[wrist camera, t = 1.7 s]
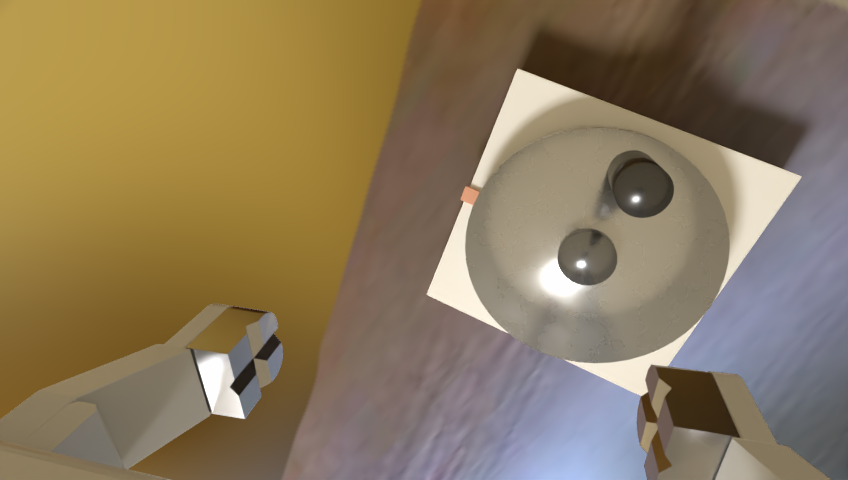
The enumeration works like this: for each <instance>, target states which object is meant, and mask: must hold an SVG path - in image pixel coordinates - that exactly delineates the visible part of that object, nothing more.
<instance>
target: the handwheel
mask: <svg viewBox="0 0 848 480" xmlns="http://www.w3.org/2000/svg"><path fill="white" fill-rule="evenodd" d="M729 250H730V241H729V229H728V224H727V220H726V216H725V212H724V210H723V207H722V205H721V202H720V200H719V198H718V196H717V194H716V192H715V191H714V189H713V187H712V186H711V184H710V183H709V181H708V180H707V179H706V178H705V176H704V175H703V174H702V173H701V172H700V170H699V169H698V168H697V167H696V166H695V165H694V164H692V163H691V162H690V161H689V160H688V159H687V158H685V157H684V156H683V155H682V154H680V153H679V152H677V151H676V150H674V149H672V148H671V147H669V146H668V145H666V144H665V143H663V142H661V141H659V140H657V139H655V138H653V137H651V136H649V135H646V134H643V133H640V132H637V131H634V130H630V129H626V128H620V127H614V126H598V125H592V126H580V127H573V128H568V129H564V130H559V131H556V132H553V133H550V134H548V135H545V136H542V137H540V138H538V139H536V140H534V141H532V142H530V143H528V144H527V145H525V146H524V147H522V148H521V149H519V150H518V151H516V152H515V153H513V154H512V155H511V156H510V157H509V158H508V159H507V160H505V161H504V162H503V163H502V164H501V165H500V167H499V168H498V169H497V170H496V171H495V172H494V173H493V174H492V176H491V177H490V178H489V179H488V180H487V182H486V183H485V185H484V186H483V188H482V189H481V191H480V192H479V195H478V197H477V199H476V201H475V203H474V205H473V207H472V210H471V213H470V216H469V219H468V224H467V229H466V238H465V254H466V263H467V268H468V272H469V276H470V279H471V282H472V285H473V287H474V290H475V292H476V294H477V296H478V297H479V299H480V301H481V303H482V304H483V306H484V307H485V309H486V310H487V312H488V313H489V314H490V315H491V316H492V318H493V319H494V320H495V321H496V322H497V323H498V324H499V325H500V326H501V327H502V328H503V329H504V330H506V331H507V332H508V333H509V334H510V335H512V336H513V337H515V338H516V339H517V340H519V341H520V342H522V343H524V344H525V345H527V346H529V347H531V348H533V349H535V350H537V351H540V352H542V353H544V354H547V355H550V356H553V357H557V358H560V359H563V360H569V361H575V362H583V363H612V362H618V361H625V360H630V359H633V358H637V357H641V356H644V355H647V354H649V353H652V352H654V351H657V350H659V349H661V348H663V347H665V346H666V345H668V344H670V343H672V342H674V341H675V340H676V339H678V338H679V337H681V336H682V335H683V334H685V333H686V332H687V331H688V330H690V329H691V328H692V327H693V326H694V325H695V324H696V323H697V322H698V321H699V320H700V319H701V318H702V316H703V315H704V314H705V313H706V311H707V310H708V309H709V308H710V306H711V304H712V303H713V301H714V300H715V298H716V296H717V295H718V293H719V290H720V288H721V285H722V283H723V281H724V278H725V274H726V270H727V266H728V261H729Z"/></svg>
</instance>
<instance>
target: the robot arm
mask: <svg viewBox="0 0 848 480" xmlns="http://www.w3.org/2000/svg"><path fill="white" fill-rule="evenodd" d="M277 328H278V324H277V320H276V316H275V315H274V314H273V313H271V312H267V311H261V310H254V309H249V308H243V307H236V306H228V305H222V304H212V305H208V306H207V307H206V308H205V309H204V310H203V311H202V312H200V313H199V314H198V315H197V316H196V317H195V318H194V319H193V320H191V321H190V322H189V323H188V324H187V325H186V326H184V328H182V329H181V330H180V331H179V332H178V333H177V334H175V335H174V336H173V337H172V338H171V339H170V340H169V341H167V342H166V343H165V344H164V345H162V344H156V345H154V346H151V347H149V348H146V349H144V350H141V351H139V352H136V353H133V354H131V355H128V356H126V357H123V358H121V359H118V360H115V361H113V362H110V363H108V364H105V365H103V366H100V367H98V368H95V369H93V370H90V371H87V372H85V373H82V374H80V375H77V376H75V377H72V378H70V379H67V380H64V381H62V382H59V383H57V384H54V385H52V386H49V387H47V388H44V389H41V390H39V391H37V392H36V393H35V394H33V395H32V396H31V397H29V398H28V399H27V400H25V401H24V402H23V403H21V404H20V405H19V406H18V407H16V408H15V409H13V410H12V411H11V412H9V413H8V414H7V415H6V416H4V417H3V418H2V419H0V480H171V479H166V478H162V477H157V476H153V475H149V474H144V473H141V472H136V471H132V470H128V469H129V468H130V467H132V466H133V465H135V464H136V463H137V462H139V461H141V460H142V459H144V458H145V457H147V456H148V455H150V454H151V453H153V452H155V451H156V450H158V449H159V448H161V447H162V446H164V445H165V444H167V443H168V442H170V441H171V440H173V439H175V438H176V437H178V436H179V435H181V434H182V433H184V432H185V431H187V430H188V429H190V428H191V427H193V426H194V425H196V424H197V423H199V422H201V421H202V420H204V419H205V418H207V417H208V416H210V413H212V414H218V415H224V416H230V417H237V418H243V419H245V418H246V416H247V415H248V413H249V412H250V411H251V409H252V408H253V407H254V405H255V404H256V403H257V402H258V400H259V399H260V397H261V390H260V388H261V387H263V386H265V385H267V384H269V383H271V382H272V381H273V379H274V378H275V377H276V375H277V374H278V371H279V369H280V366H281V363H282V356H283V355H282V354H283V349H282V344H281V341H280V340H279V339H278V338H277V337H276V336H275V335H274V333H275V331H276V330H277ZM645 381H646V385H647V389H648V392H647V393H646V394H644V395H643V396H641V398H640V402H639V407H638V414H637V430H638V438H639V443H640V446H641V447H642V448H643V449H644V450H645V451H646V452H647V458H646V461H645V465H644V467H645V471H646V476H647V480H831V479H829V478H828V477H827V476H825V475H824V474H823V473H822V472H820V471H819V470H818V469H816V468H815V467H814V466H812V465H811V464H810V463H809V462H807V461H806V460H805V459H803V458H802V457H801V456H799V455H798V454H797V453H796V452H794V451H793V450H792V449H790V448H789V447H788V446H783V445H778V444H777V442H776V440H775V438H774V437H773V435H772V433H771V431H770V429H769V427H768V425H767V423H766V422H765V420H764V418H763V416H762V414H761V412H760V410H759V409H758V407H757V405H756V403H755V401H754V399H753V397H752V395H751V394H750V392H749V390H748V388H747V386H746V384H745V382H744V381H743V379H742V378H741V377H740V376H739V375H737V374H728V373H720V372H711V371H708V372H705V371H698V370H690V369H682V368H675V367H667V366H660V365H652V364H651V366H650V367H649V369H648V372H647V375H646V379H645Z"/></svg>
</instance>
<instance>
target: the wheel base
mask: <svg viewBox="0 0 848 480" xmlns="http://www.w3.org/2000/svg"><path fill="white" fill-rule="evenodd" d="M592 125H598V126H614V127H620V128H626V129H630V130H634V131H637V132H640V133H643V134H646V135H649V136H651V137H653V138H655V139H657V140H659V141H661V142H663V143H665V144H666V145H668V146H669V147H671V148H672V149H674V150H676V151H677V152H679V153H680V154H682V155H683V156H684V157H685V158H687V159H688V160H689V161H690V162H691V163H692V164H694V165H695V166H696V167H697V168H698V169H699V170H700V172H701V173H702V174H703V175H704V176H705V178H706V179H707V180H708V181H709V183H710V184H711V186H712V187H713V189H714V191H715V192H716V194H717V196H718V198H719V200H720V202H721V205H722V207H723V210H724V212H725V216H726V220H727V224H728V229H729V241H730V250H729V261H728V266H727V270H726V274H725V278H724V281H723V283H722V285H721V288H720V290H719V293H720V292H721V290H722V289H723V287H724V286H725V285H726V283H727V282H728V280H729V279H730V277H731V276H732V275H733V273H734V272H735V270H736V269H737V268H738V266H739V265H740V263H741V262H742V260H743V259H744V258H745V256H746V255H747V253H748V252H749V251H750V249H751V248H752V246H753V245H754V244H755V242H756V241H757V239H758V238H759V236H760V235H761V234H762V232H763V231H764V229H765V228H766V227H767V225H768V224H769V222H770V221H771V220H772V218H773V217H774V215H775V214H776V212H777V211H778V210H779V208H780V207H781V205H782V204H783V203H784V201H785V200H786V198H787V197H788V196H789V194H790V193H791V191H792V190H793V188H794V187H795V186H796V184H797V183H798V181H799V180H800V179H801V177H802V176H799V175H797V174H794V173H792V172H789V171H787V170H785V169H782V168H779V167H777V166H774V165H771V164H769V163H766V162H764V161H761V160H758V159H756V158H753V157H750V156H748V155H745V154H742V153H740V152H737V151H735V150H732V149H729V148H727V147H724V146H721V145H719V144H716V143H713V142H711V141H708V140H706V139H703V138H700V137H698V136H695V135H692V134H690V133H687V132H684V131H682V130H679V129H677V128H674V127H671V126H669V125H666V124H663V123H661V122H658V121H655V120H653V119H650V118H648V117H645V116H642V115H640V114H637V113H634V112H632V111H629V110H626V109H624V108H621V107H619V106H616V105H613V104H611V103H608V102H605V101H603V100H600V99H597V98H595V97H592V96H590V95H587V94H584V93H582V92H579V91H576V90H574V89H571V88H568V87H566V86H563V85H561V84H558V83H555V82H553V81H550V80H547V79H545V78H542V77H539V76H537V75H534V74H532V73H529V72H526V71H524V70H521V69H517V71H516V73H515V76H514V78H513V81H512V83H511V86H510V88H509V91H508V93H507V96H506V98H505V101H504V103H503V106H502V108H501V111H500V113H499V116H498V118H497V121H496V123H495V126H494V128H493V131H492V133H491V136H490V138H489V141H488V143H487V146H486V148H485V151H484V153H483V156H482V158H481V161H480V163H479V166H478V168H477V171H476V173H475V176H474V178H473V181H472V183H471V186H470V187H469V186H467V185H466V187H465V189H464V192H463V194H462V197H461V199H460V200H462V201H464V203H463V205H462V208H461V210H460V213H459V215H458V218H457V220H456V223H455V225H454V228H453V230H452V233H451V235H450V238H449V240H448V243H447V245H446V248H445V250H444V253H443V255H442V258H441V260H440V263H439V265H438V268H437V270H436V273H435V275H434V278H433V280H432V283H431V285H430V288H429V290H428V293H427V295H428V296H430V297H432V298H435V299H437V300H439V301H441V302H443V303H445V304H447V305H449V306H452V307H454V308H456V309H458V310H460V311H462V312H464V313H466V314H468V315H471V316H473V317H475V318H477V319H479V320H481V321H483V322H485V323H487V324H490V325H492V326H494V327H496V328H498V329H500V330H502V331H504V332H507V331H506V330H504V329H503V328H502V327H501V326H500V325H499V324H498V323H497V322H496V321H495V320H494V319H493V318H492V316H491V315H490V314H489V313H488V312H487V310H486V309H485V307H484V306H483V304H482V303H481V301H480V299H479V297H478V296H477V294H476V292H475V290H474V287H473V285H472V282H471V279H470V276H469V272H468V268H467V263H466V254H465V238H466V229H467V224H468V219H469V216H470V213H471V210H472V207H473V205H474V203H475V201H476V199H477V197H478V195H479V192H480V191H481V189H482V188H483V186H484V185H485V183H486V182H487V180H488V179H489V178H490V177H491V176H492V174H493V173H494V172H495V171H496V170H497V169H498V168H499V167H500V165H501V164H502V163H503V162H504V161H505V160H507V159H508V158H509V157H510V156H511V155H512V154H513V153H515V152H516V151H518V150H519V149H521V148H522V147H524V146H525V145H527V144H528V143H530V142H532V141H534V140H536V139H538V138H540V137H542V136H545V135H548V134H550V133H553V132H556V131H559V130H564V129H568V128H573V127H580V126H592ZM719 293H718V294H719ZM717 296H718V295H717ZM717 296H716V297H717ZM715 299H716V298H715ZM703 316H704V315H703ZM703 316H702V317H703ZM700 320H701V319H700ZM700 320H699V321H700ZM699 321H698V322H697V323H696V324H695V325H694V326H693V327H692V328H691V329H690V330H688V331H687V332H686V333H685V334H683V335H682V336H681V337H679V338H678V339H676V340H675V341H674V342H672V343H670V344H668V345H666V346H665V347H663V348H661V349H659V350H657V351H654V352H652V353H649V354H647V355H644V356H641V357H637V358H633V359H630V360H625V361H618V362H612V363H583V362H575V361H569V360H566V361H568V362H570V363H572V364H574V365H576V366H578V367H581V368H583V369H585V370H587V371H589V372H591V373H593V374H595V375H597V376H600V377H602V378H604V379H606V380H608V381H610V382H612V383H614V384H617V385H619V386H621V387H623V388H625V389H627V390H629V391H631V392H633V393H636V394H638V395H640V396H643V395H644V394H646V393H647V392H648V389H647V385H646V381H645V379H646V375H647V372H648V369H649V367H650V366H651V364H652V365H660V366H668V365H669V364H670V362H671V361H672V359H673V358H674V357H675V355H676V354H677V352H678V351H679V349H680V348H681V347H682V345H683V344H684V342H685V341H686V340H687V338H688V337H689V335H690V334H691V333H692V331H693V330H694V328H695V327H696V325H697V324H698V323H699ZM507 333H508V332H507Z"/></svg>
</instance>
